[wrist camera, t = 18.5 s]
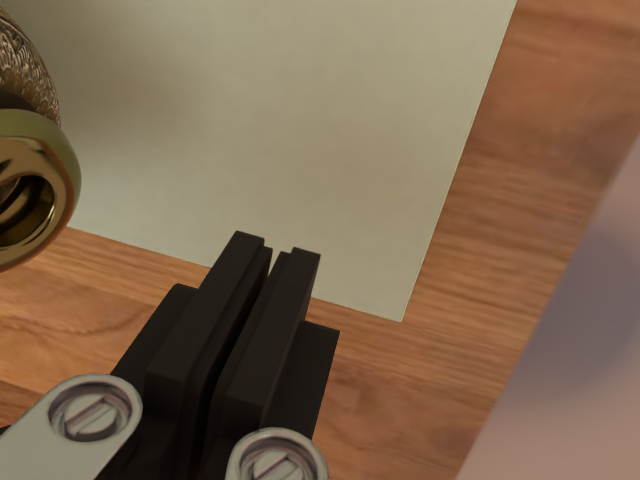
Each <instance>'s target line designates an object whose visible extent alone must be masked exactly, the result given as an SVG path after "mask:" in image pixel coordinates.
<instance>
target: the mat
mask: <svg viewBox="0 0 640 480" xmlns="http://www.w3.org/2000/svg"><path fill="white" fill-rule="evenodd" d="M516 2H517V0H0V6H1V7H2V8H3V9H4V10H5V11H6V12H7V13H8V14H9V15H10V17H11V18H12V19H13V20H14V21H15V22H16V23H17V24H18V25H19V26H20V28H21V29H22V30H23V32H24V33H25V34H26V35H27V37H28V38H29V39H30V41H31V42H32V44H33V45H34V46H35V48H36V49H37V51H38V52H39V54H40V56H41V57H42V59H43V61H44V63H45V65H46V67H47V69H48V71H49V74H50V76H51V78H52V80H53V83H54V86H55V89H56V93H57V98H58V103H59V109H60V118H61V130H62V131H63V132H64V133H65V135H66V136H67V138H68V139H69V141H70V143H71V145H72V147H73V149H74V151H75V153H76V156H77V158H78V161H79V164H80V168H81V175H82V185H81V193H80V198H79V201H78V204H77V207H76V209H75V212H74V214H73V216H72V217H71V219H70V221H69V223H68V224H67V227H70V228H74V229H77V230H81V231H84V232H88V233H91V234H95V235H98V236H102V237H105V238H108V239H112V240H115V241H119V242H122V243H126V244H129V245H133V246H136V247H140V248H143V249H147V250H150V251H154V252H157V253H161V254H164V255H167V256H171V257H174V258H178V259H181V260H185V261H188V262H192V263H195V264H199V265H202V266H206V267H209V268H212V267H213V265H214V264H215V262H216V260H217V259H218V257H219V256H220V254H221V253H222V251H223V250H224V248H225V246H226V245H227V243H228V242H229V240H230V239H231V237H232V236H233V234H234V233H235V231H237V230H238V231H242V232H245V233H249V234H252V235H256V236H259V237H263V238H264V239H265V243H264V246H267V247H270V248H273V253H272V259H271V264H270V269H269V274H270V271H271V269H272V267H273V265H274V263H275V261H276V259H277V257H278V255H279V253H280V251H284V252H288V253H291V251H292V249H293V247H297V248H301V249H304V250H308V251H311V252H315V253H318V254H321V257H320V262H319V266H318V270H317V274H316V278H315V282H314V285H313V289H312V293H311V297H313V298H317V299H320V300H323V301H327V302H330V303H334V304H337V305H341V306H344V307H348V308H351V309H355V310H358V311H362V312H365V313H369V314H372V315H375V316H379V317H382V318H386V319H389V320H393V321H396V322H401V321H402V319H403V316H404V313H405V311H406V308H407V305H408V302H409V299H410V297H411V294H412V291H413V288H414V285H415V283H416V280H417V277H418V274H419V272H420V269H421V266H422V263H423V260H424V258H425V255H426V252H427V249H428V247H429V244H430V241H431V238H432V235H433V233H434V230H435V227H436V224H437V221H438V219H439V216H440V213H441V210H442V208H443V205H444V202H445V199H446V196H447V194H448V191H449V188H450V185H451V183H452V180H453V177H454V174H455V171H456V169H457V166H458V163H459V160H460V157H461V155H462V152H463V149H464V146H465V144H466V141H467V138H468V135H469V132H470V130H471V127H472V124H473V121H474V119H475V116H476V113H477V110H478V107H479V105H480V102H481V99H482V96H483V93H484V91H485V88H486V85H487V82H488V80H489V77H490V74H491V71H492V68H493V66H494V63H495V60H496V57H497V55H498V52H499V49H500V46H501V43H502V41H503V38H504V35H505V32H506V29H507V27H508V24H509V21H510V18H511V16H512V13H513V10H514V7H515V4H516ZM269 274H268V276H269Z"/></svg>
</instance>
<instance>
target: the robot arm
mask: <svg viewBox="0 0 640 480" xmlns="http://www.w3.org/2000/svg"><path fill="white" fill-rule="evenodd" d="M264 243H265V239H264V238H263V237H259V236H256V235H252V234H249V233H245V232H242V231H238V230H237V231H235V233H234V234H233V236H232V237H231V239H230V240H229V242H228V243H227V245H226V246H225V248H224V250H223V251H222V253H221V254H220V256H219V257H218V259H217V260H216V262H215V264H214V265H213V267H212V268H211V270H210V271H209V273H208V274H207V276H206V278H205V279H204V281H203V282H202V284H201V285H200V287H199V288H198V289H196V288H193V287H189V286H186V285H182V284H179V283H177V284H175V285H174V286H173V287H172V288H171V289H170V291H169V292H168V293H167V295H166V296H165V298H164V299H163V300H162V302H161V303H160V305H159V306H158V307H157V309H156V310H155V312H154V313H153V315H152V316H151V317H150V319H149V320H148V322H147V323H146V324H145V326H144V327H143V329H142V330H141V331H140V333H139V334H138V336H137V337H136V338H135V340H134V341H133V343H132V344H131V345H130V347H129V348H128V350H127V351H126V352H125V354H124V355H123V357H122V358H121V359H120V361H119V362H118V364H117V365H116V366H115V368H114V369H113V371H112V372H111V373H110V375H109V374H97V373H90V374H84V375H78V376H74V377H72V378H69V379H67V380H64V381H62V382H60V383H59V384H57V385H56V386H55V387H53V388H52V389H50V390H49V391H48V392H47V393H46V394H45V395H44V396H42V397H41V398H40V399H39V400H38V401H37V402H36V403H35V404H34V405H33V406H32V407H31V408H30V409H28V410H27V411H26V412H25V413H24V414H23V415H22V416H21V417H20V418H19V419H18V420H17V421H16V422H14V423H13V424H12V425H9V426H5V427H2V428H0V480H329V475H328V467H327V462H326V460H325V458H324V456H323V454H322V452H321V451H320V449H319V448H318V447H317V446H316V445H315V444H314V443H313V442H312V441H311V440H312V437H313V433H314V429H315V425H316V421H317V418H318V414H319V410H320V406H321V402H322V398H323V395H324V391H325V387H326V383H327V379H328V376H329V372H330V368H331V364H332V360H333V357H334V353H335V349H336V345H337V341H338V337H339V334H340V331H339V330H335V329H332V328H328V327H325V326H322V325H318V324H315V323H311V322H308V321H305V317H306V313H307V309H308V305H309V301H310V297H311V293H312V289H313V285H314V282H315V278H316V274H317V270H318V266H319V262H320V257H321V254H318V253H315V252H311V251H308V250H304V249H301V248H297V247H293V249H292V251H291V253H288V252H284V251H280V253H279V255H278V257H277V259H276V261H275V263H274V265H273V267H272V269H271V271H270V274H269V269H270V264H271V259H272V253H273V248H270V247H267V246H264ZM268 274H269V276H268Z"/></svg>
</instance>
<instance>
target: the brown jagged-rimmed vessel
mask: <svg viewBox="0 0 640 480" xmlns="http://www.w3.org/2000/svg"><path fill="white" fill-rule="evenodd" d="M81 185H82V175H81V168H80V164H79V161H78V158H77V156H76V153H75V151H74V149H73V147H72V145H71V143H70V141H69V139H68V138H67V136H66V135H65V133H64V132H63V131H62V130H61V118H60V109H59V103H58V98H57V93H56V89H55V86H54V83H53V80H52V78H51V76H50V74H49V71H48V69H47V67H46V65H45V63H44V61H43V59H42V57H41V56H40V54H39V52H38V51H37V49H36V48H35V46H34V45H33V44H32V42H31V41H30V39H29V38H28V37H27V35H26V34H25V33H24V32H23V30H22V29H21V28H20V26H19V25H18V24H17V23H16V22H15V21H14V20H13V19H12V18H11V17H10V15H9V14H8V13H7V12H6V11H5V10H4V9H3V8H2V7H1V6H0V273H2V272H6V271H9V270H11V269H14V268H16V267H18V266H20V265H22V264H24V263H26V262H28V261H29V260H31V259H33V258H34V257H36V256H37V255H38V254H40V253H41V252H42V251H44V250H45V249H46V248H47V247H48V246H49V245H50V244H51V243H52V242H53V241H54V240H55V239H56V238H57V237H58V236H59V235H60V234H61V232H62V231H63V230H64V228H65V227H66V226H67V224H68V223H69V221H70V219H71V217H72V216H73V214H74V212H75V209H76V207H77V204H78V201H79V198H80V193H81Z"/></svg>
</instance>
